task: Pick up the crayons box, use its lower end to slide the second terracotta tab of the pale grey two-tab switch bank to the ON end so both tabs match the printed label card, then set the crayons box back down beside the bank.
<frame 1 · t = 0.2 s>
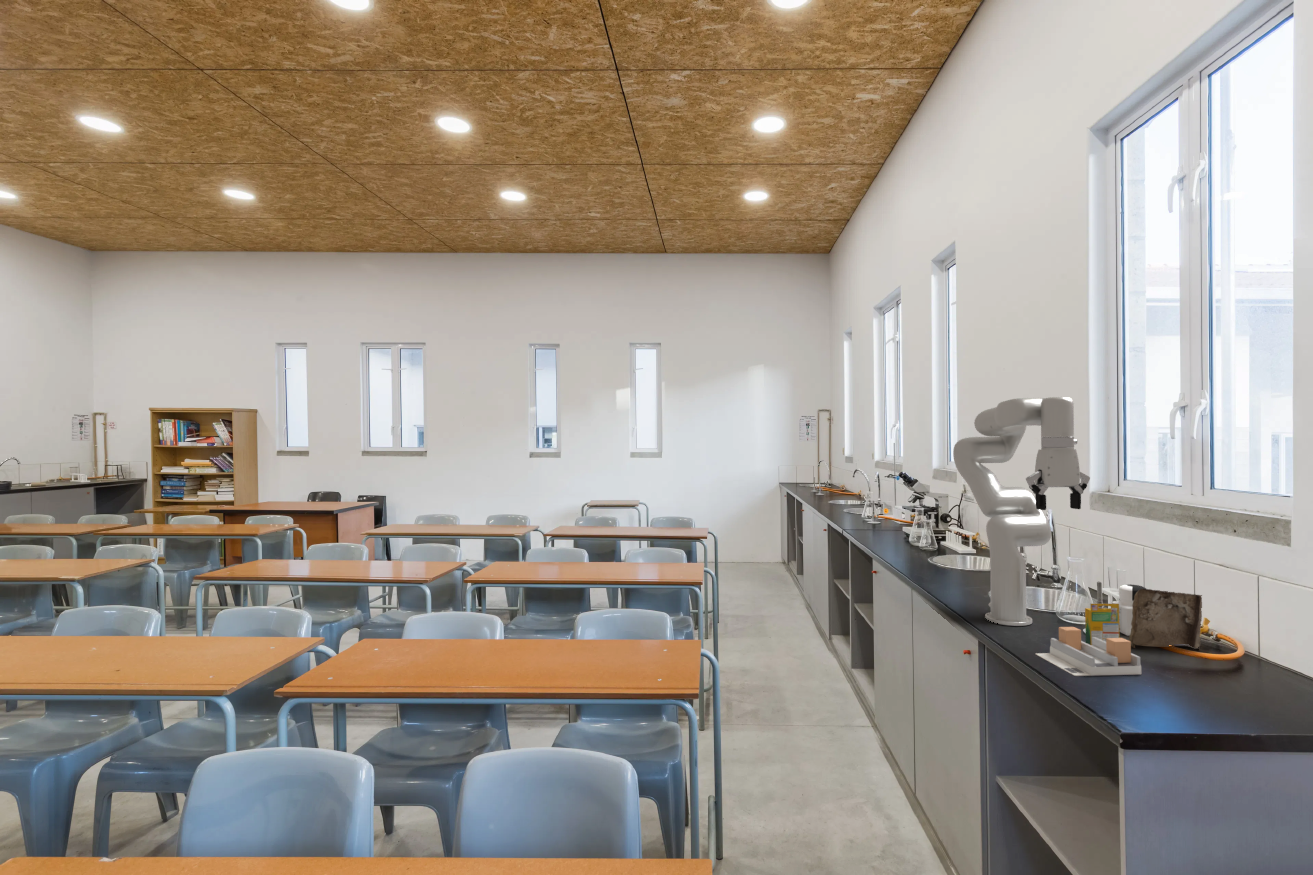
hand: (1058, 509, 186), 36 cm above the worktop, tool pointing down, fingers open, 9 cm apart
container: (1133, 632, 198), on the worktop
tab a: (1118, 650, 167), point 5 cm above the worktop, slide at 10.0 cm
crayon box: (1102, 647, 185), on the worktop
tab b: (1069, 638, 177), point 5 cm above the worktop, slide at 0.0 cm
mineral sample: (1164, 648, 184), on the worktop
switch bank: (1093, 663, 172), on the worktop
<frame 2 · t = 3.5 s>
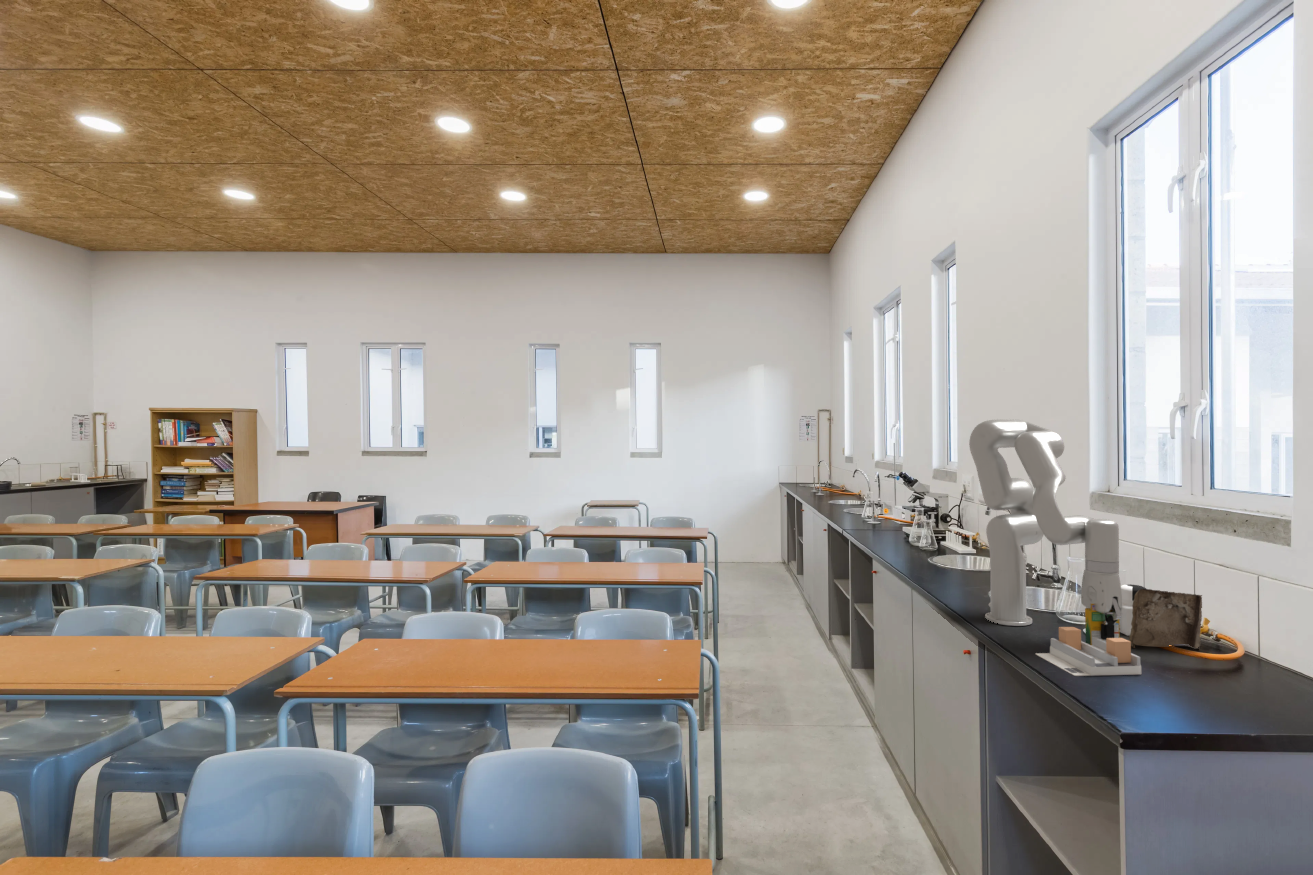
hand: (1102, 636, 185), 3 cm above the worktop, tool pointing down, fingers closed on crayon box, 3 cm apart
crayon box: (1102, 647, 185), on the worktop, touching gripper
everything else where it was.
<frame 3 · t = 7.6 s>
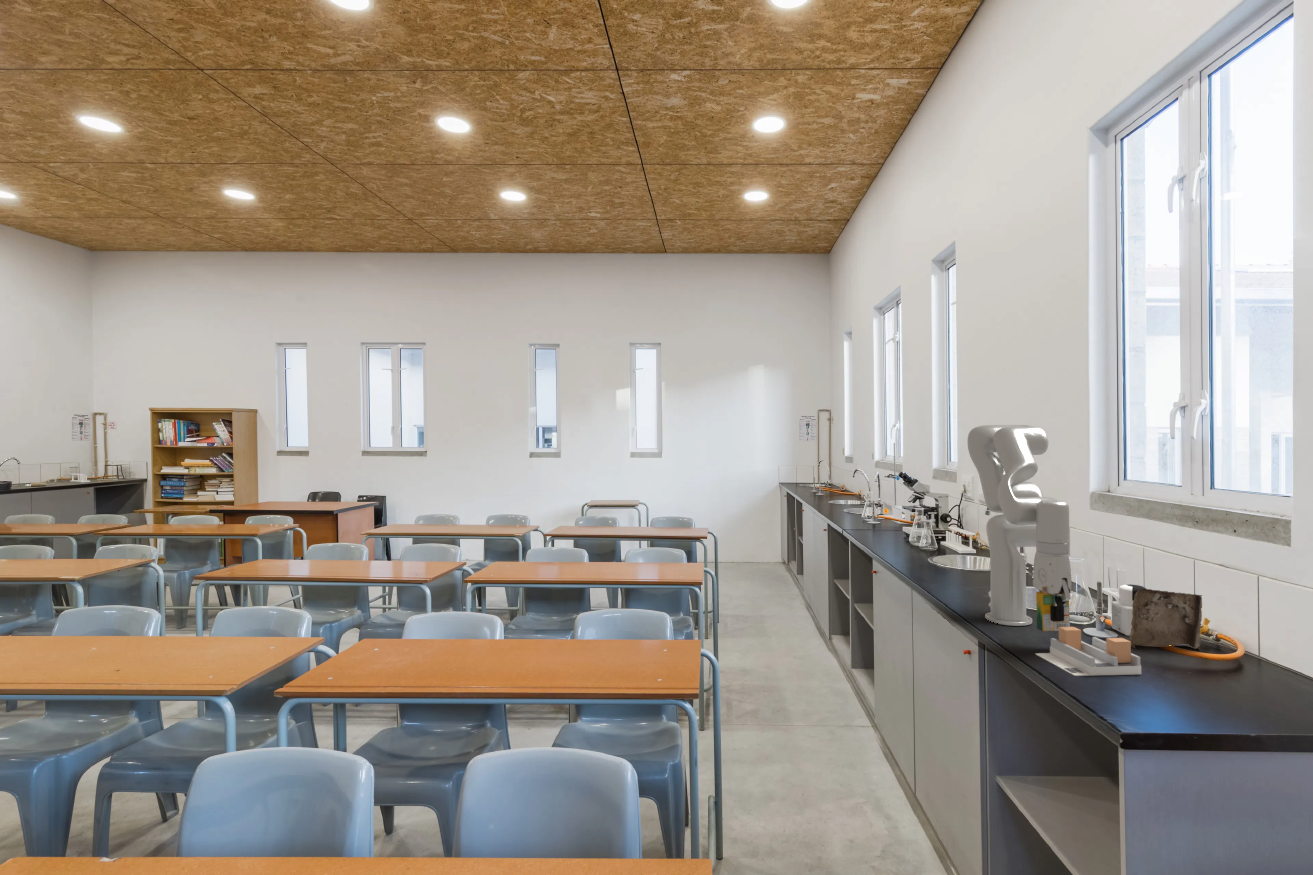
hand: (1053, 618, 184), 8 cm above the worktop, tool pointing down, fingers closed on crayon box, 3 cm apart
crayon box: (1053, 630, 184), point 5 cm above the worktop, touching gripper
everything else where it was.
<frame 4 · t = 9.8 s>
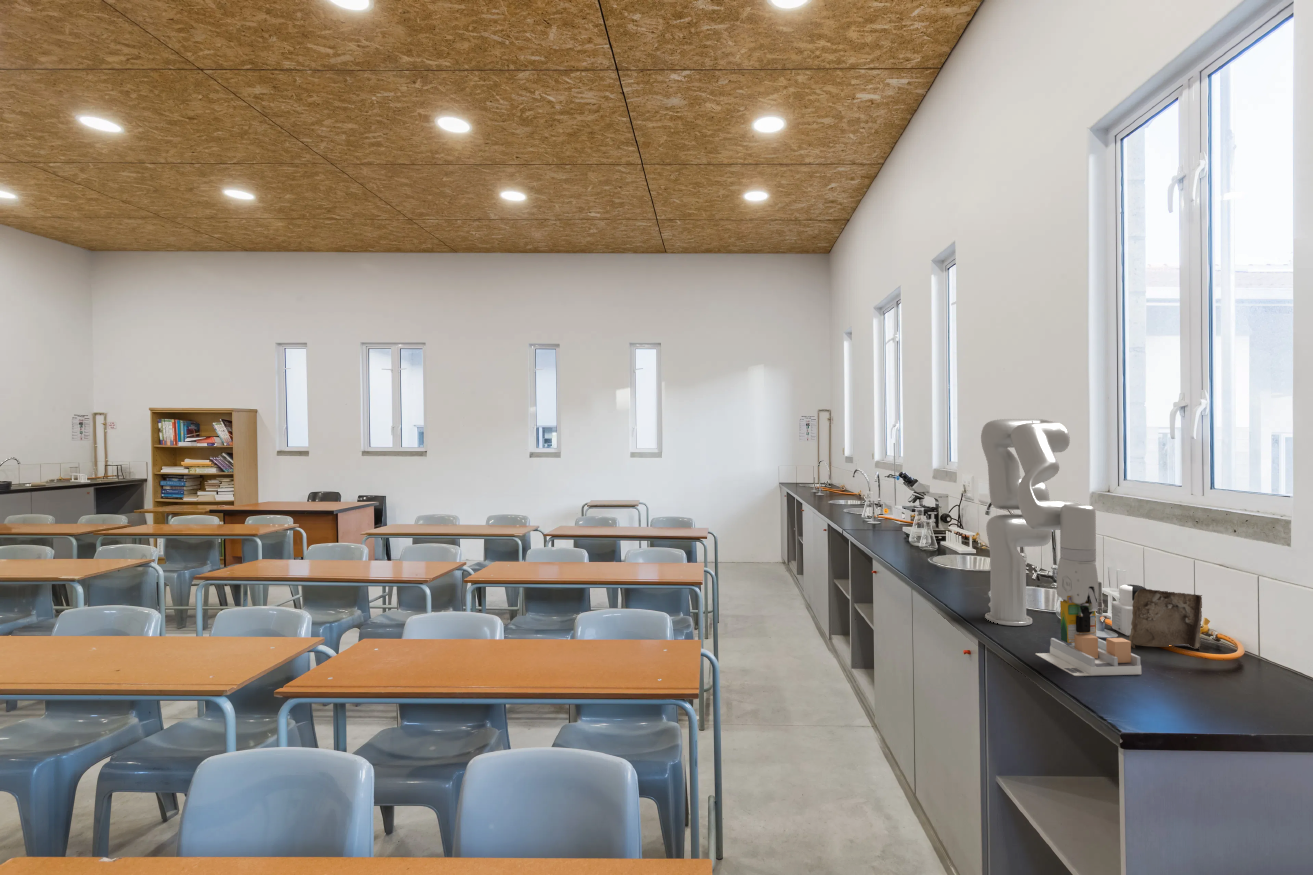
hand: (1078, 629, 173), 8 cm above the worktop, tool pointing down, fingers closed on crayon box, 3 cm apart
crayon box: (1078, 641, 173), point 5 cm above the worktop, touching gripper, tab b
tab b: (1086, 645, 170), point 5 cm above the worktop, slide at 6.4 cm, touching crayon box
everything else where it was.
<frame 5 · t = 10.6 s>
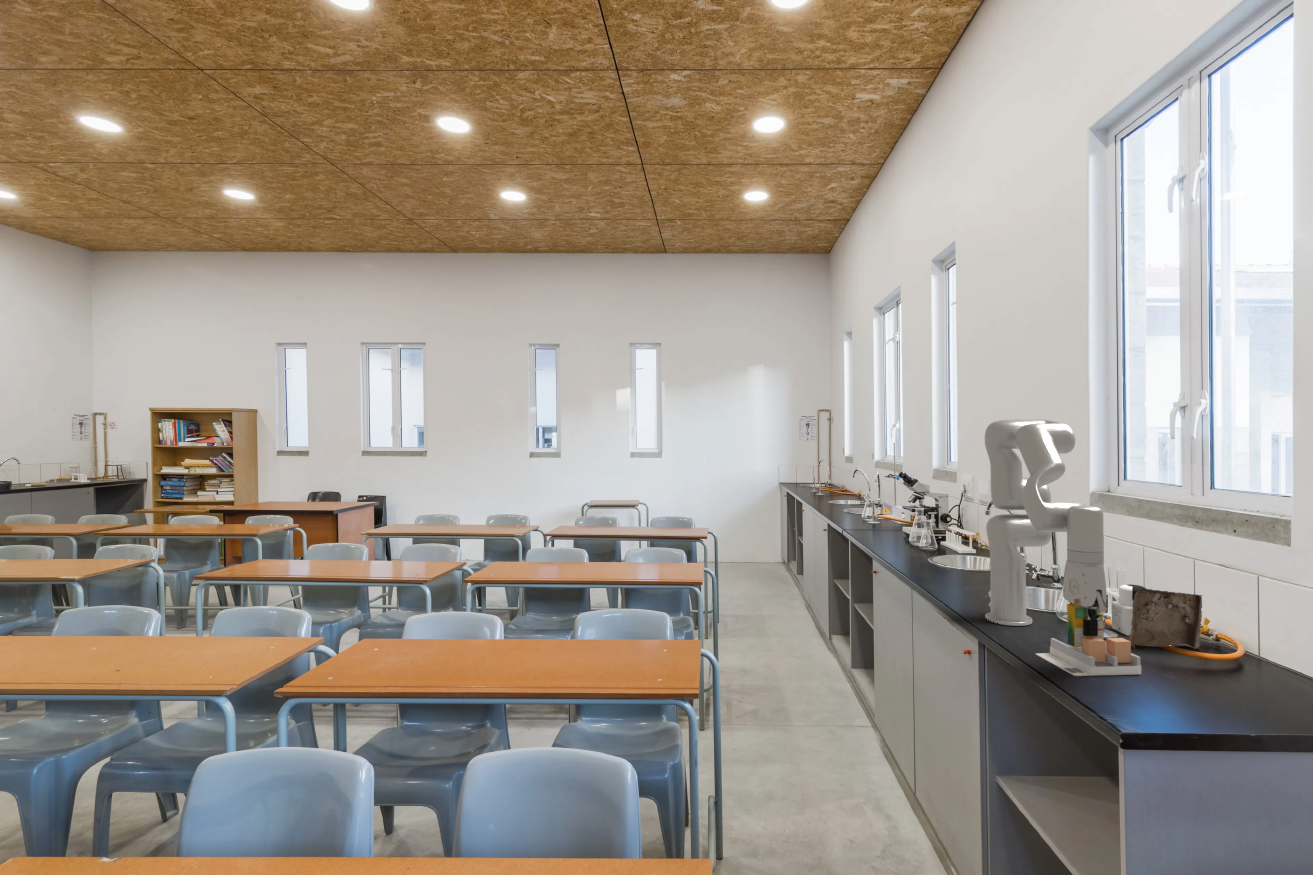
hand: (1085, 632, 171), 8 cm above the worktop, tool pointing down, fingers closed on crayon box, 3 cm apart
crayon box: (1085, 645, 171), point 5 cm above the worktop, touching gripper, tab b
tab b: (1093, 649, 168), point 5 cm above the worktop, slide at 9.1 cm, touching crayon box
everything else where it was.
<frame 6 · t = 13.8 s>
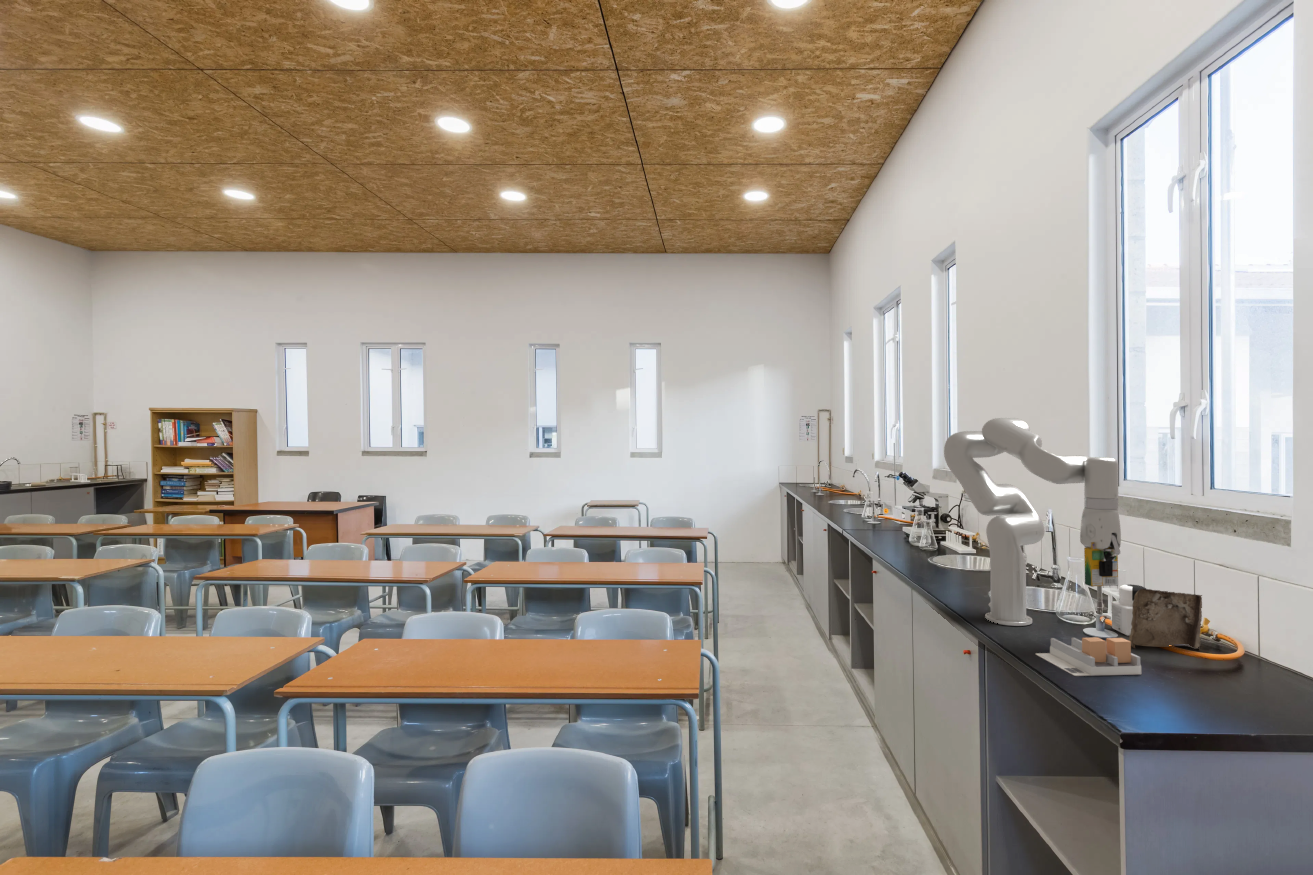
hand: (1101, 574, 185), 19 cm above the worktop, tool pointing down, fingers closed on crayon box, 3 cm apart
crayon box: (1101, 585, 185), point 16 cm above the worktop, touching gripper
tab b: (1093, 649, 168), point 5 cm above the worktop, slide at 9.2 cm
everything else where it was.
when the fingers open (4 cm above the worktop, at t = 16.8 s): crayon box drops 1 cm, on the worktop.
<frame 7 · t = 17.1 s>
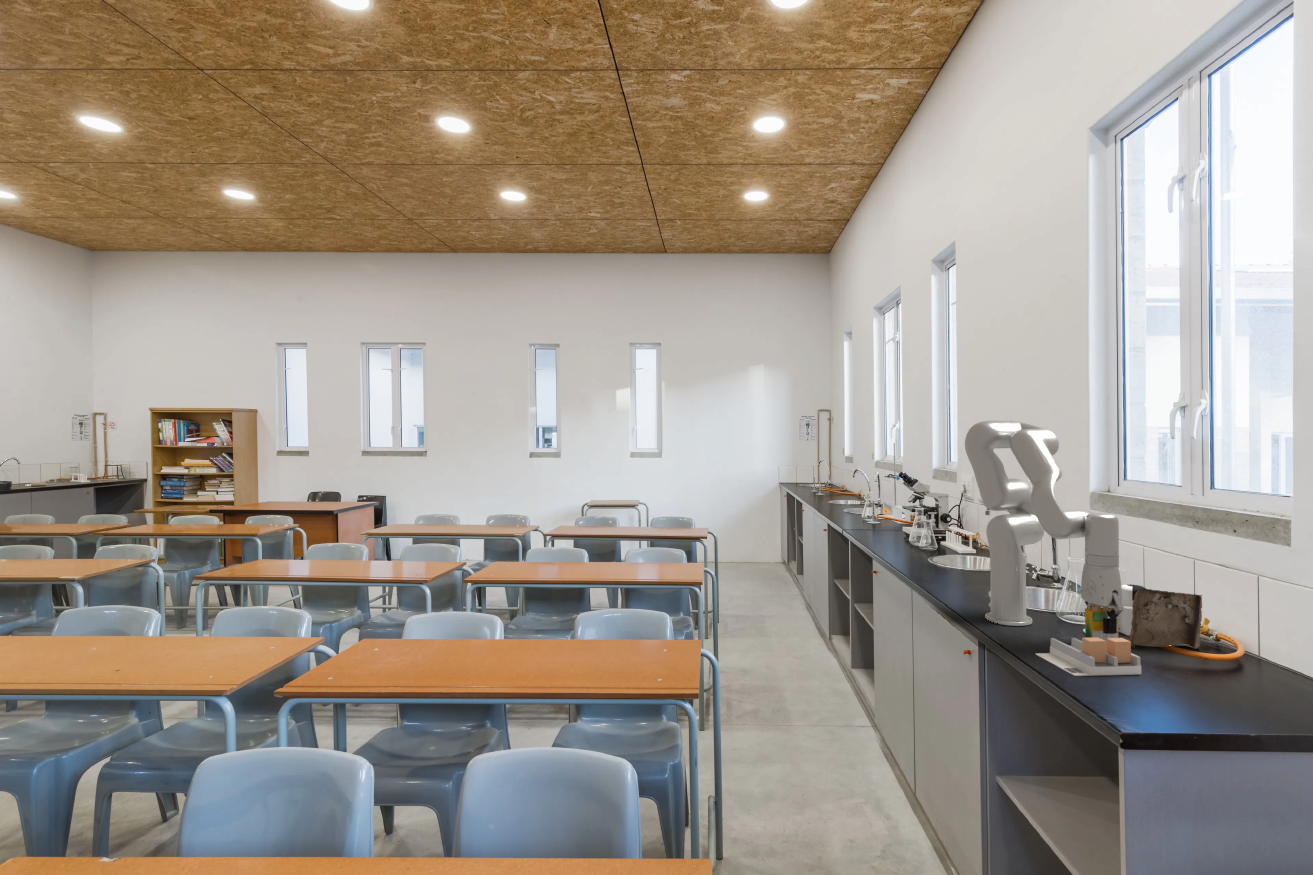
hand: (1102, 629, 185), 4 cm above the worktop, tool pointing down, fingers open, 5 cm apart
crayon box: (1101, 646, 186), on the worktop
everything else where it was.
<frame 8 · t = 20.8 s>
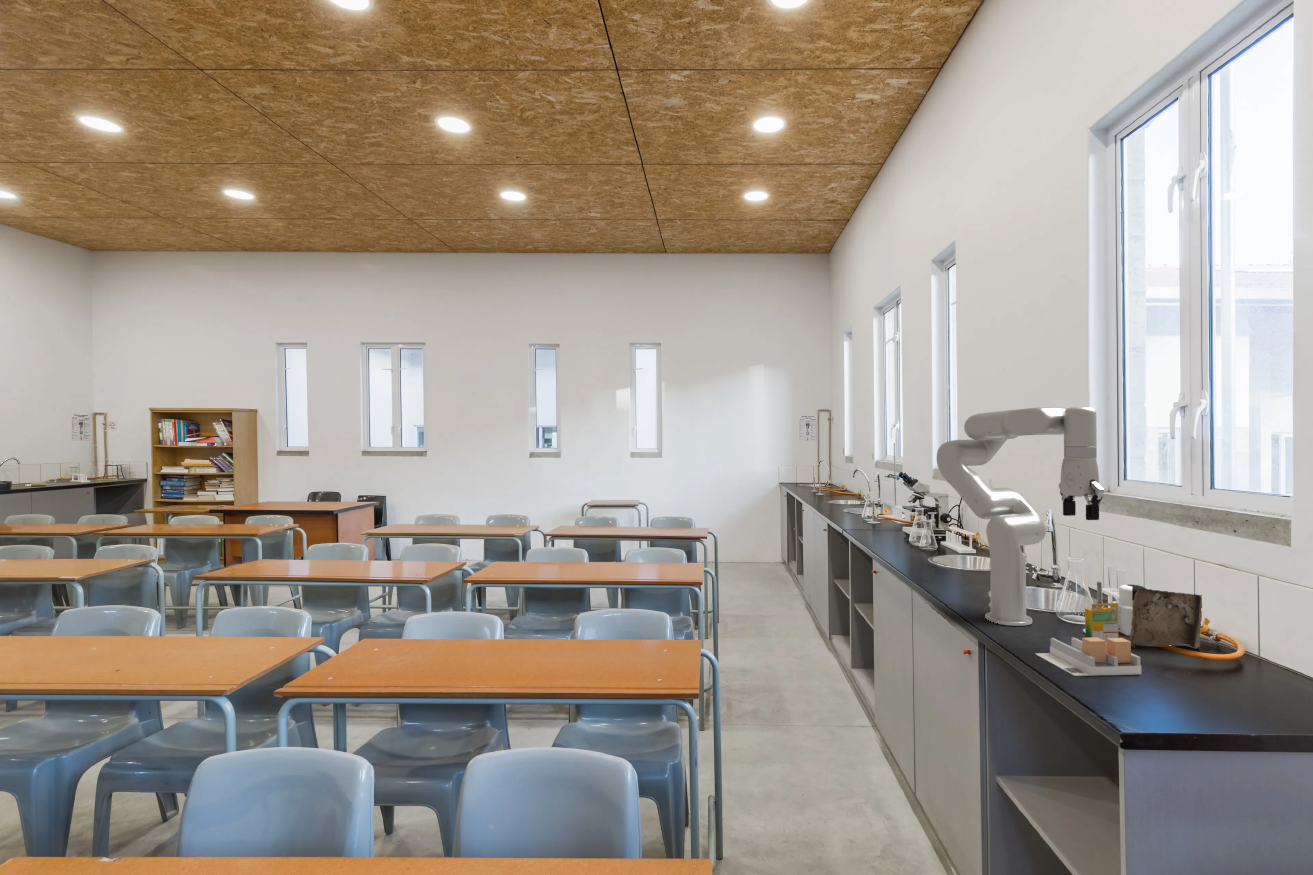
hand: (1080, 517, 189), 33 cm above the worktop, tool pointing down, fingers open, 9 cm apart
nothing on the worktop moved.
at the end: tab b slide at 9.2 cm; tab a slide at 10.0 cm; crayon box inside the target area (0.2 cm from its centre), on the worktop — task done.
